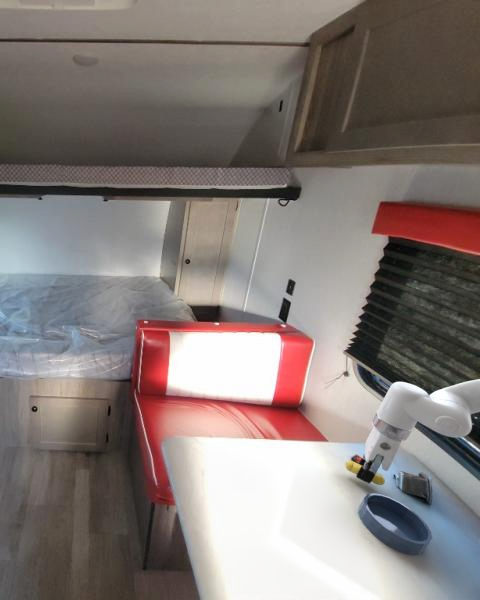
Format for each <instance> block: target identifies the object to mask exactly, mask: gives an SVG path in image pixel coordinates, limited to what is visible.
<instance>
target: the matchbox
mask: <svg viewBox="0 0 480 600" xmlns="http://www.w3.org/2000/svg"><path fill="white" fill-rule="evenodd" d="M361 458H363V456H361V455H359V454H357V453H356V454H354V455H353V456H351V458H350V461H353V462H355V463H357V464H359V462H360V460H361ZM363 459H364V458H363Z"/></svg>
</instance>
